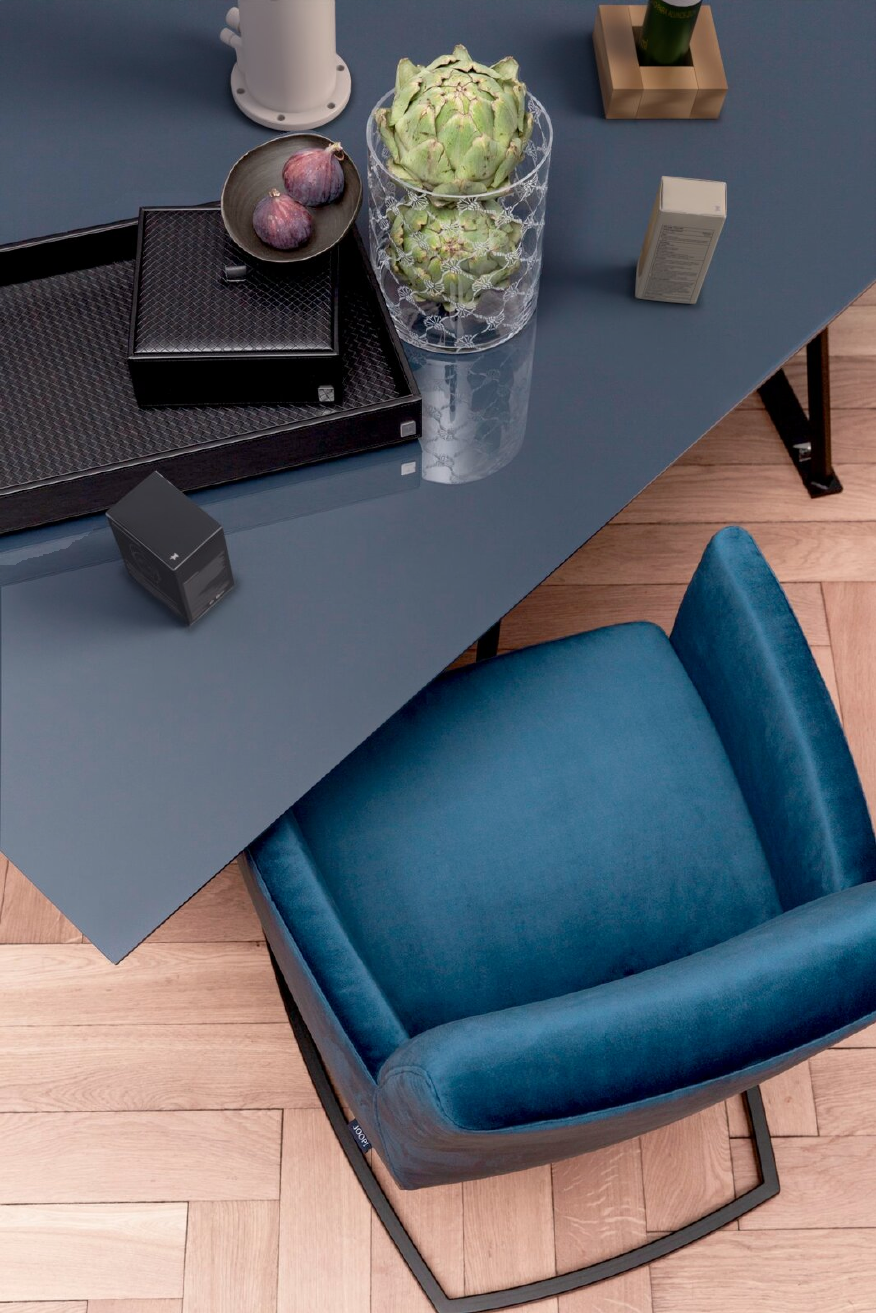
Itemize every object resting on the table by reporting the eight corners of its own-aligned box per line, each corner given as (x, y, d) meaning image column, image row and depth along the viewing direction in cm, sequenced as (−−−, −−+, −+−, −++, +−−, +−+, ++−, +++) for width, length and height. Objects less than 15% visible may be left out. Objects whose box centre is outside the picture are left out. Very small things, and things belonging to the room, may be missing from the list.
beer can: (687, 86, 132) (718, -12, 121) (647, 102, 131) (674, 4, 120) (661, 54, 134) (688, -46, 123) (620, 69, 133) (644, -31, 122)
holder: (605, 119, 130) (613, 88, 126) (592, 36, 134) (598, 4, 131) (717, 119, 131) (728, 88, 127) (700, 37, 135) (709, 5, 132)
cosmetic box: (696, 272, 122) (730, 181, 111) (695, 306, 120) (730, 218, 109) (633, 264, 122) (661, 172, 111) (631, 298, 120) (660, 209, 109)
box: (236, 585, 105) (224, 525, 96) (189, 628, 103) (172, 572, 94) (172, 531, 107) (154, 467, 97) (125, 573, 105) (102, 512, 95)
